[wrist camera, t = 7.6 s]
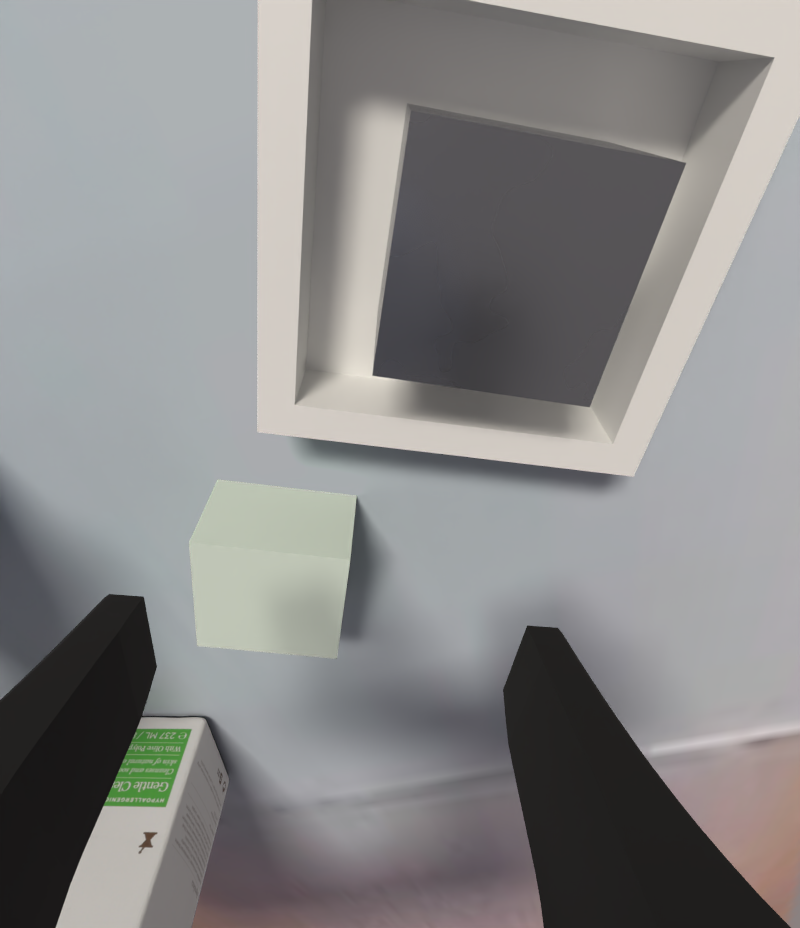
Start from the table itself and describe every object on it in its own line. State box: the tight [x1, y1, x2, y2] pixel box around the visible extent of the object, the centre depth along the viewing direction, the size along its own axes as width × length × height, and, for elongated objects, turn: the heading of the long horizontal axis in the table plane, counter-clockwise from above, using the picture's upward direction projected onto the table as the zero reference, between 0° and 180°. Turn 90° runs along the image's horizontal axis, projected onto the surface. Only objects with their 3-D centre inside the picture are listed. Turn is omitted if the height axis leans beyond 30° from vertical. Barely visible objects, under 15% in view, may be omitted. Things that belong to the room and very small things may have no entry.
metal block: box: [372, 103, 686, 407], centre depth 13 cm, size 5×5×4 cm
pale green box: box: [189, 480, 357, 659], centre depth 20 cm, size 5×5×4 cm
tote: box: [257, 0, 800, 477], centre depth 14 cm, size 11×11×3 cm
